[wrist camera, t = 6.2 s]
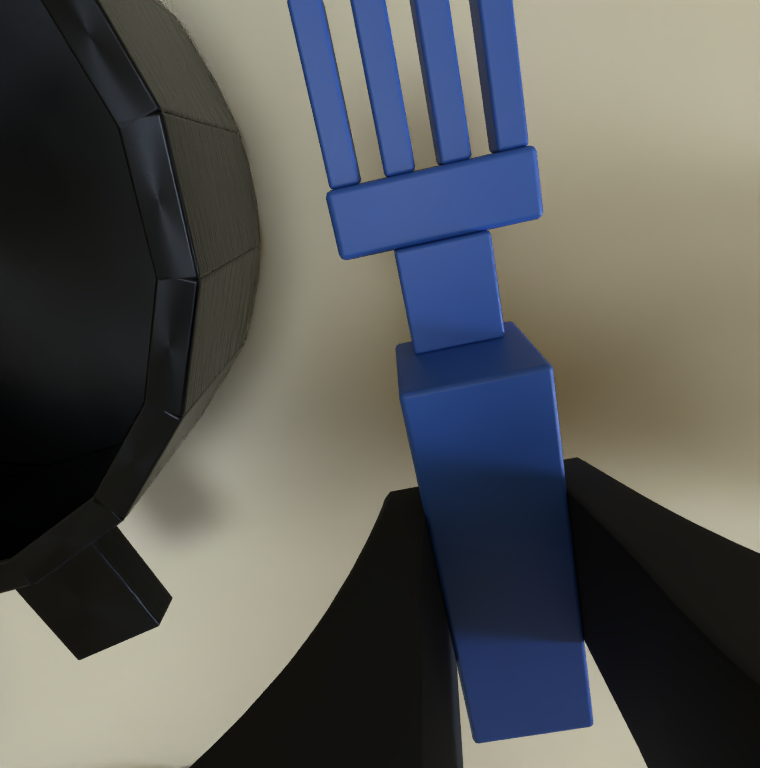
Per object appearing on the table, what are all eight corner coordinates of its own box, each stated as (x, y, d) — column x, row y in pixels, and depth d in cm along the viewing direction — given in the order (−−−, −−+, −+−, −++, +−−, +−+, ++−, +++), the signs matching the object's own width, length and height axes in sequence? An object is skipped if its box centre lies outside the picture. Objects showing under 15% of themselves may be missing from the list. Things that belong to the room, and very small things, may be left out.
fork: (578, 617, 12) (625, 723, 9) (432, 640, 12) (444, 750, 10) (502, -42, 8) (551, -129, 6) (288, 12, 8) (250, -51, 6)
